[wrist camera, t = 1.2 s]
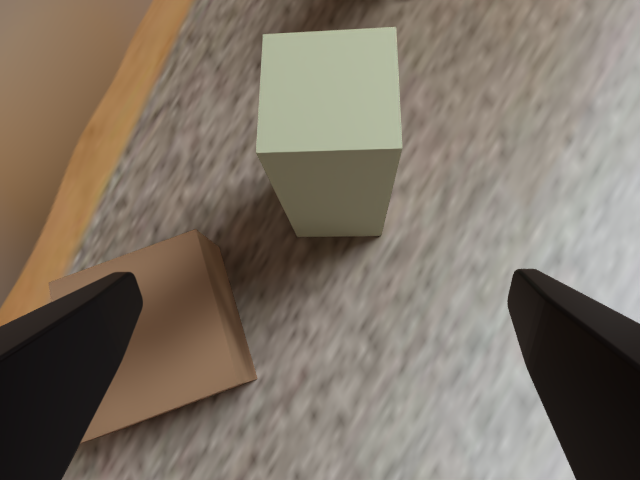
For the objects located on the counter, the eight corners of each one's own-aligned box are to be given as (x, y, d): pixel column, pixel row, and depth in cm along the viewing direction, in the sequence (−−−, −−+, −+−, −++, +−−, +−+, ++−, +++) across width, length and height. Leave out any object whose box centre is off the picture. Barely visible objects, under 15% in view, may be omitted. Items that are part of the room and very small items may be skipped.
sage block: (381, 235, 23) (402, 148, 13) (297, 237, 24) (256, 152, 14) (378, 159, 25) (395, 27, 15) (299, 161, 25) (263, 34, 15)
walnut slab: (258, 378, 22) (238, 384, 18) (122, 429, 22) (73, 445, 18) (220, 248, 24) (195, 228, 20) (96, 293, 24) (48, 282, 20)
